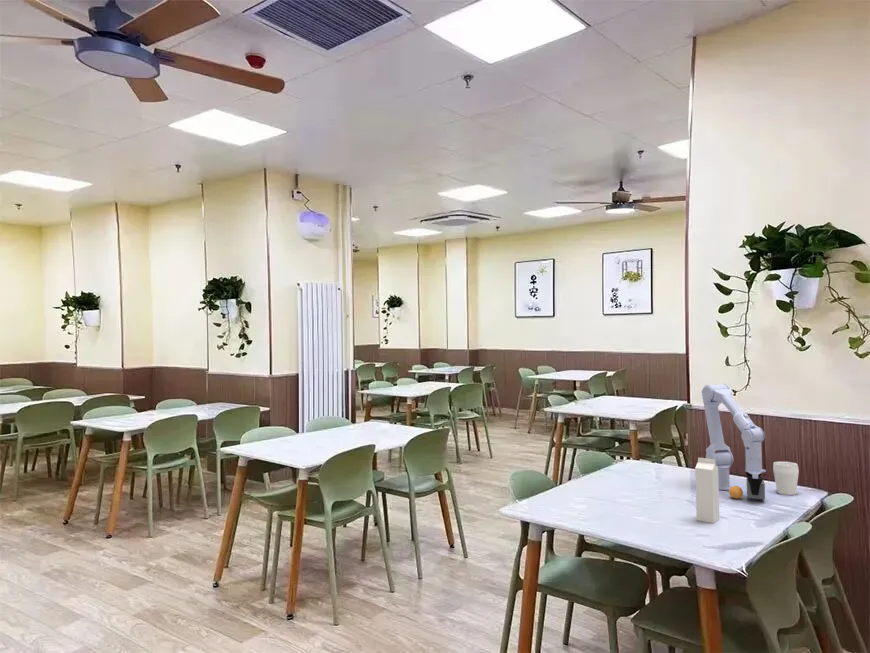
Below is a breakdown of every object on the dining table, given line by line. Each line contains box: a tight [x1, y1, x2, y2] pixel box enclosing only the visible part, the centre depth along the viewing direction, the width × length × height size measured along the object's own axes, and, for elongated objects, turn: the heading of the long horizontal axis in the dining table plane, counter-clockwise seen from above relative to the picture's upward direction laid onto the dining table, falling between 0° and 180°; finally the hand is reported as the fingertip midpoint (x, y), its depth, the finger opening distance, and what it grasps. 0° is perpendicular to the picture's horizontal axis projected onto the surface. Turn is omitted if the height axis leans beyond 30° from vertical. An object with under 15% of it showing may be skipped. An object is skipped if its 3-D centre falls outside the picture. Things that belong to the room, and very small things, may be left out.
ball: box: [728, 485, 744, 499], centre depth 242 cm, size 5×5×5 cm
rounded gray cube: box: [746, 478, 766, 500], centre depth 239 cm, size 6×6×6 cm
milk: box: [694, 457, 720, 524], centre depth 217 cm, size 6×6×22 cm
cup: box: [772, 460, 800, 496], centre depth 248 cm, size 9×9×12 cm
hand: (754, 492), depth 239 cm, fingers closed on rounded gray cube, 6 cm apart
